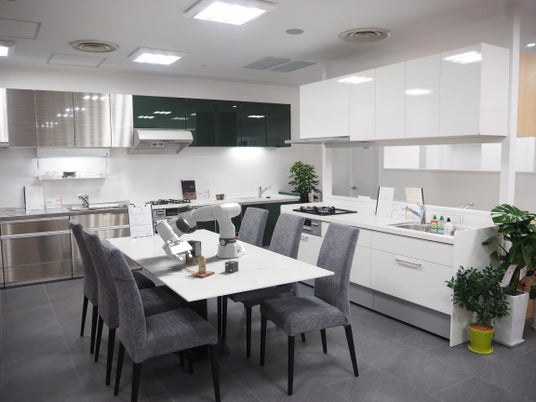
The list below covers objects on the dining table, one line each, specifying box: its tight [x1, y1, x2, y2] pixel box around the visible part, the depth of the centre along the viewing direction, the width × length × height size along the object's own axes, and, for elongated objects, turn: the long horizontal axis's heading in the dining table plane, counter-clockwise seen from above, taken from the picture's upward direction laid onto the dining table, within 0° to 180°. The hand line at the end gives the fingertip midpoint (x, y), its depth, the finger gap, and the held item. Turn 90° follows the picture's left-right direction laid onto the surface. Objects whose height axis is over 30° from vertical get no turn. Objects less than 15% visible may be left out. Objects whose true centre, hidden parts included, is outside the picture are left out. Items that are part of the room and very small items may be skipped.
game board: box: [166, 265, 215, 279], centre depth 282 cm, size 12×30×1 cm, turn 61°
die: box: [224, 260, 239, 274], centre depth 286 cm, size 6×6×6 cm
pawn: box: [197, 255, 207, 274], centre depth 277 cm, size 4×4×11 cm
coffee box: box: [184, 239, 202, 266], centre depth 301 cm, size 9×6×16 cm
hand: (186, 259), depth 282 cm, fingers open, 8 cm apart
